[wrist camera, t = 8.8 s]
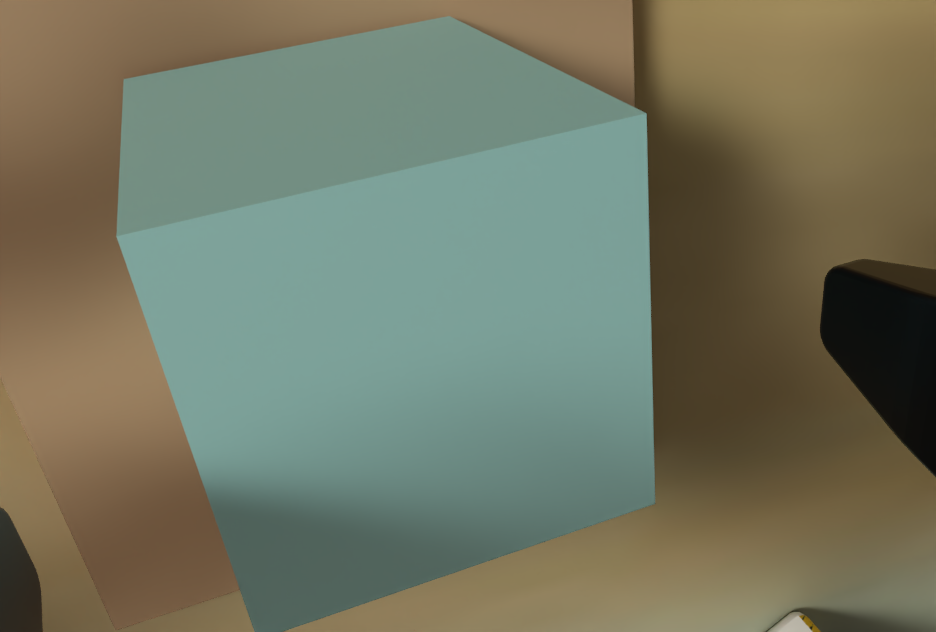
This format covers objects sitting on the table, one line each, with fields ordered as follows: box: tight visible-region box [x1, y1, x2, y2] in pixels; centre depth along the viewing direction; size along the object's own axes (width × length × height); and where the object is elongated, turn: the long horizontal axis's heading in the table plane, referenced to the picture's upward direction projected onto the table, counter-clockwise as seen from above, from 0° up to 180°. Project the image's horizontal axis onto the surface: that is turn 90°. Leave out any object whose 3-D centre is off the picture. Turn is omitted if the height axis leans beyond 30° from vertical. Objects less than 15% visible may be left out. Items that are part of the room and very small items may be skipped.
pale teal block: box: [116, 16, 655, 632], centre depth 12 cm, size 5×5×7 cm
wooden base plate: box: [0, 0, 635, 630], centre depth 13 cm, size 16×12×7 cm
